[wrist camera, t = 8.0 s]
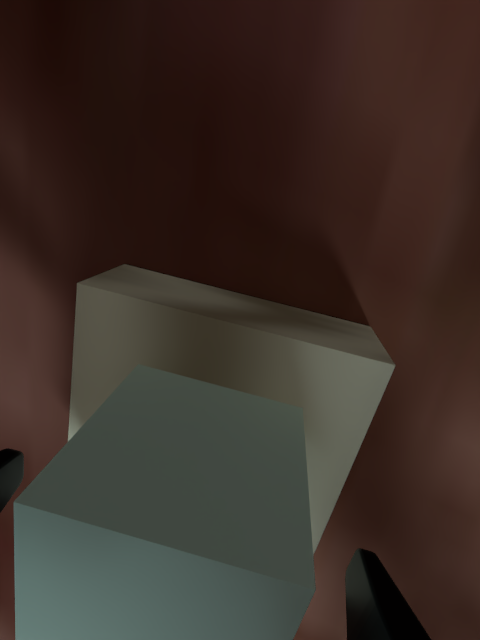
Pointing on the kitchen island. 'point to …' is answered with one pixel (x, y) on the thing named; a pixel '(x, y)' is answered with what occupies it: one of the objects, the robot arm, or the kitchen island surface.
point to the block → (169, 520)
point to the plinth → (234, 360)
